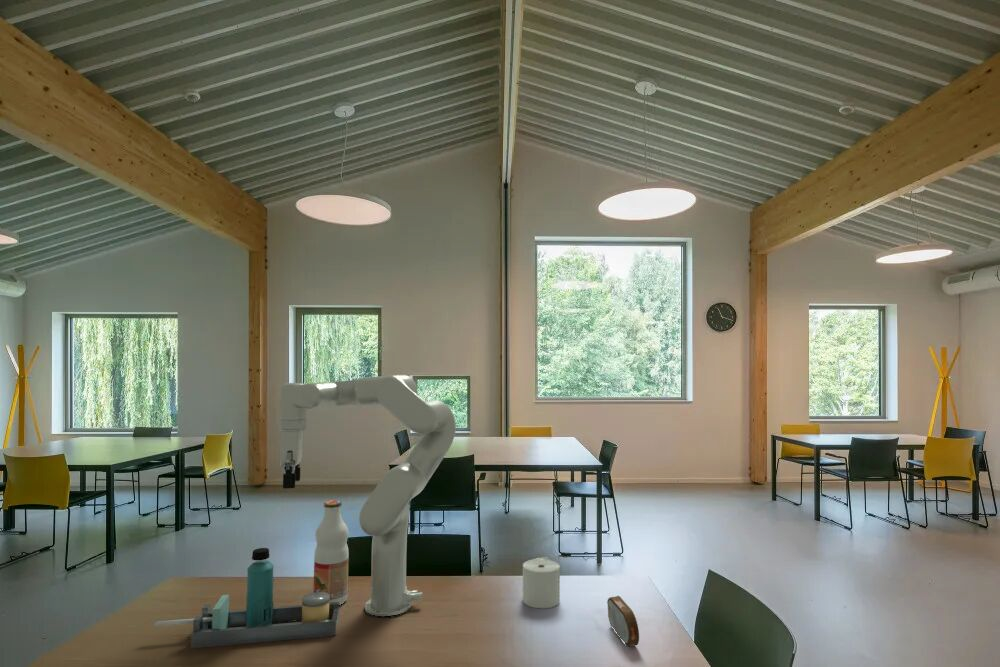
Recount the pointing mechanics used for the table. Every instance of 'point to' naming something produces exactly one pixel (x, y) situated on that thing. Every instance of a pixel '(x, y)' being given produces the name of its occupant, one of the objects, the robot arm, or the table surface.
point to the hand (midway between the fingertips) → (291, 484)
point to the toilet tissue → (541, 583)
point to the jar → (315, 606)
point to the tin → (623, 620)
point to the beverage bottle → (260, 589)
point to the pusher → (217, 619)
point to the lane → (261, 627)
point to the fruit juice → (332, 554)
